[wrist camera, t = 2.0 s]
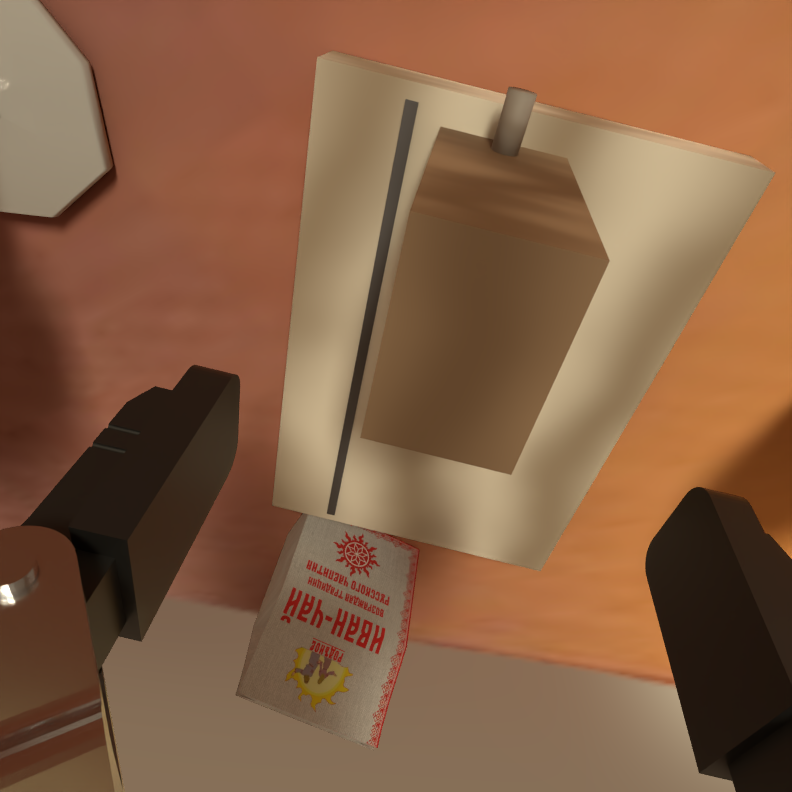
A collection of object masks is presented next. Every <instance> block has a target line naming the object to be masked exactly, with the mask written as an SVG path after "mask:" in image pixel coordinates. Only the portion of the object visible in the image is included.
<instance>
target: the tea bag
mask: <svg viewBox="0 0 792 792" xmlns="http://www.w3.org/2000/svg"><path fill="white" fill-rule="evenodd" d="M418 557H419V549H417V548H415V547H413V546H411V545H409V544H407V543H404V542H402V541H400V540H398V539H396V538H394V537H392V536H390V535H388V534H386V533H382V532H378V531H374V530H370V529H366V528H362V527H358V526H354V525H350V524H346V523H342V522H337V521H333V520H329V519H325V518H321V517H317V516H313V515H309V514H305V513H303V514H302V515H301V516H300V518H299V519H298V521H297V522H296V523H295V525H294V526H293V528H292V529H291V530H290V532H289V533H288V535H287V538H286V541H285V543H284V546H283V549H282V551H281V554H280V557H279V559H278V562H277V565H276V567H275V570H274V573H273V575H272V578H271V581H270V584H269V586H268V589H267V592H266V594H265V597H264V600H263V602H262V605H261V608H260V610H259V613H258V616H257V618H256V621H255V624H254V627H253V631H252V635H251V639H250V644H249V648H248V652H247V656H246V660H245V664H244V668H243V671H242V675H241V679H240V682H239V685H238V689H237V692H236V696H239V697H241V698H244V699H246V700H249V701H251V702H254V703H256V704H259V705H261V706H264V707H266V708H269V709H271V710H274V711H277V712H279V713H282V714H284V715H286V716H289V717H292V718H294V719H297V720H299V721H302V722H304V723H306V724H309V725H311V726H314V727H316V728H319V729H321V730H324V731H327V732H329V733H332V734H334V735H337V736H339V737H341V738H344V739H347V740H349V741H352V742H354V743H357V744H359V745H362V746H364V747H367V748H369V749H372V750H374V747H376V748H378V743H379V738H380V735H381V730H382V726H383V723H384V719H385V716H386V712H387V709H388V705H389V701H390V698H391V695H392V692H393V689H394V685H395V683H396V679H397V676H398V673H399V670H400V666H401V663H402V660H403V657H404V654H405V651H406V647H407V641H408V633H409V625H410V618H411V610H412V602H413V595H414V587H415V579H416V572H417V564H418Z"/></svg>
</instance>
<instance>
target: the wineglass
mask: <svg viewBox="0 0 792 792" xmlns="http://www.w3.org/2000/svg"><path fill="white" fill-rule="evenodd" d="M112 166H113V162H112V158H111V153H110V149H109V145H108V140H107V136H106V131H105V127H104V122H103V118H102V113H101V109H100V104H99V100H98V95H97V91H96V86H95V82H94V77H93V73H92V68H91V64H90V62H89V60H88V59H87V58H86V57H85V55H84V54H83V53H82V52H81V50H80V49H79V48H78V47H77V45H76V44H75V43H74V42H73V40H72V39H71V38H70V37H69V36H68V34H67V33H66V32H65V31H64V29H63V28H62V27H61V26H60V24H59V23H58V22H57V21H56V19H55V18H54V17H53V16H52V14H51V13H50V12H49V11H48V10H47V8H46V7H45V6H44V5H43V3H42V2H41V1H40V0H0V212H9V213H18V214H26V215H35V216H44V217H58V216H59V215H60V214H61V213H63V212H64V211H65V210H66V209H67V208H68V207H69V206H70V205H71V204H73V203H74V202H75V201H76V200H77V199H78V198H79V197H80V196H81V195H83V194H84V193H85V192H86V191H87V190H88V189H89V188H90V187H91V186H92V185H94V184H95V183H96V182H97V181H98V180H99V179H100V178H101V177H102V176H104V175H105V174H106V173H107V172H108V171H109V170H110V169H111V168H112Z"/></svg>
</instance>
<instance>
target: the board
mask: <svg viewBox="0 0 792 792" xmlns="http://www.w3.org/2000/svg"><path fill="white" fill-rule="evenodd" d="M505 98H506V94H502V93H498V92H494V91H490V90H486V89H482V88H478V87H474V86H470V85H466V84H462V83H458V82H455V81H451V80H447V79H443V78H439V77H435V76H431V75H427V74H423V73H419V72H415V71H411V70H407V69H403V68H399V67H395V66H391V65H387V64H383V63H379V62H375V61H371V60H367V59H363V58H359V57H355V56H351V55H347V54H344V53H340V52H336V51H331V52H328V53H326V54H324V55H322V56H319V57H317V65H316V75H315V84H314V94H313V104H312V114H311V124H310V134H309V144H308V154H307V164H306V174H305V184H304V194H303V204H302V213H301V223H300V233H299V243H298V253H297V263H296V273H295V283H294V293H293V303H292V313H291V323H290V333H289V343H288V352H287V362H286V372H285V382H284V392H283V402H282V412H281V422H280V432H279V442H278V452H277V462H276V472H275V482H274V491H273V501H272V506H276V507H280V508H284V509H289V510H293V511H297V512H301V513H305V514H309V515H313V516H317V517H321V518H325V519H329V520H333V521H337V522H342V523H346V524H350V525H354V526H358V527H362V528H366V529H370V530H374V531H378V532H382V533H386V534H391V535H395V536H399V537H403V538H407V539H411V540H415V541H419V542H423V543H427V544H431V545H435V546H440V547H444V548H448V549H452V550H456V551H460V552H464V553H468V554H472V555H476V556H480V557H484V558H488V559H493V560H497V561H501V562H505V563H509V564H513V565H517V566H521V567H525V568H529V569H533V570H537V571H541V569H542V568H543V566H544V564H545V562H546V561H547V559H548V557H549V556H550V554H551V552H552V551H553V549H554V547H555V546H556V544H557V542H558V540H559V539H560V537H561V535H562V534H563V532H564V530H565V529H566V527H567V525H568V523H569V522H570V520H571V518H572V517H573V515H574V513H575V512H576V510H577V508H578V507H579V505H580V503H581V501H582V500H583V498H584V496H585V495H586V493H587V491H588V490H589V488H590V486H591V485H592V483H593V481H594V479H595V478H596V476H597V474H598V473H599V471H600V469H601V468H602V466H603V464H604V462H605V461H606V459H607V457H608V456H609V454H610V452H611V451H612V449H613V447H614V446H615V444H616V442H617V440H618V439H619V437H620V435H621V434H622V432H623V430H624V429H625V427H626V425H627V424H628V422H629V420H630V418H631V417H632V415H633V413H634V412H635V410H636V408H637V407H638V405H639V403H640V402H641V400H642V398H643V396H644V395H645V393H646V391H647V390H648V388H649V386H650V385H651V383H652V381H653V379H654V378H655V376H656V374H657V373H658V371H659V369H660V368H661V366H662V364H663V363H664V361H665V359H666V357H667V356H668V354H669V352H670V351H671V349H672V347H673V346H674V344H675V342H676V341H677V339H678V337H679V335H680V334H681V332H682V330H683V329H684V327H685V325H686V324H687V322H688V320H689V318H690V317H691V315H692V313H693V312H694V310H695V308H696V307H697V305H698V303H699V302H700V300H701V298H702V296H703V295H704V293H705V291H706V290H707V288H708V286H709V285H710V283H711V281H712V280H713V278H714V276H715V274H716V273H717V271H718V269H719V268H720V266H721V264H722V263H723V261H724V259H725V257H726V256H727V254H728V252H729V251H730V249H731V247H732V246H733V244H734V242H735V241H736V239H737V237H738V235H739V234H740V232H741V230H742V229H743V227H744V225H745V224H746V222H747V220H748V219H749V217H750V215H751V213H752V212H753V210H754V208H755V207H756V205H757V203H758V202H759V200H760V198H761V196H762V195H763V193H764V191H765V190H766V188H767V186H768V185H769V183H770V181H771V180H772V178H773V176H774V174H775V172H773V171H772V170H770V169H769V168H768V167H766V166H765V165H763V164H762V163H760V162H759V161H757V160H756V159H754V158H753V157H751V156H748V155H744V154H740V153H736V152H732V151H728V150H724V149H720V148H716V147H712V146H708V145H704V144H700V143H696V142H692V141H688V140H684V139H681V138H677V137H673V136H669V135H665V134H661V133H657V132H653V131H649V130H645V129H641V128H637V127H633V126H629V125H625V124H621V123H617V122H613V121H609V120H605V119H601V118H597V117H593V116H589V115H585V114H581V113H577V112H573V111H570V110H566V109H562V108H558V107H554V106H550V105H546V104H542V103H538V102H535V103H534V106H533V109H532V112H531V115H530V119H529V122H528V125H527V128H526V131H525V134H524V138H523V141H522V144H521V147H524V148H528V149H532V150H536V151H540V152H544V153H548V154H552V155H556V156H560V157H564V158H567V159H568V162H569V164H570V166H571V169H572V171H573V174H574V176H575V178H576V181H577V183H578V186H579V188H580V190H581V193H582V195H583V198H584V200H585V202H586V205H587V207H588V210H589V212H590V214H591V217H592V219H593V222H594V224H595V226H596V229H597V231H598V234H599V236H600V238H601V241H602V243H603V246H604V248H605V250H606V253H607V255H608V258H609V260H610V261H609V264H608V266H607V268H606V270H605V272H604V275H603V277H602V279H601V281H600V283H599V285H598V288H597V290H596V292H595V294H594V296H593V298H592V301H591V303H590V305H589V307H588V309H587V312H586V314H585V316H584V318H583V320H582V322H581V325H580V327H579V329H578V331H577V333H576V335H575V338H574V340H573V342H572V344H571V346H570V348H569V351H568V353H567V355H566V357H565V359H564V362H563V364H562V366H561V368H560V370H559V372H558V375H557V377H556V379H555V381H554V383H553V385H552V388H551V390H550V392H549V394H548V396H547V399H546V401H545V403H544V405H543V407H542V409H541V412H540V414H539V416H538V418H537V420H536V422H535V425H534V427H533V429H532V431H531V433H530V435H529V438H528V440H527V442H526V444H525V446H524V449H523V451H522V453H521V455H520V457H519V459H518V462H517V464H516V466H515V468H514V470H513V472H512V475H509V474H505V473H501V472H497V471H493V470H489V469H485V468H481V467H477V466H473V465H469V464H465V463H461V462H456V461H452V460H448V459H444V458H440V457H436V456H432V455H428V454H424V453H420V452H416V451H412V450H408V449H404V448H400V447H396V446H392V445H387V444H383V443H379V442H375V441H371V440H367V439H363V438H360V437H361V432H362V428H363V423H364V418H365V414H366V409H367V405H368V400H369V395H370V391H371V386H372V382H373V377H374V373H375V368H376V363H377V359H378V354H379V350H380V345H381V340H382V336H383V331H384V327H385V322H386V317H387V313H388V308H389V304H390V299H391V294H392V290H393V285H394V281H395V276H396V272H397V267H398V262H399V258H400V253H401V249H402V244H403V239H404V235H405V230H406V226H407V221H408V216H409V212H410V209H411V206H412V203H413V200H414V198H415V195H416V192H417V189H418V187H419V184H420V181H421V179H422V176H423V173H424V170H425V168H426V165H427V162H428V159H429V157H430V154H431V151H432V148H433V146H434V143H435V140H436V137H437V135H438V132H439V129H440V127H445V128H449V129H453V130H457V131H461V132H465V133H469V134H473V135H477V136H481V137H485V138H489V139H493V140H494V136H495V133H496V130H497V126H498V123H499V119H500V116H501V112H502V109H503V105H504V102H505Z"/></svg>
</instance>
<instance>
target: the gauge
mask: <svg viewBox="0 0 792 792" xmlns="http://www.w3.org/2000/svg"><path fill="white" fill-rule="evenodd" d="M536 96H537V94H536V93H534V92H531V91H528V90H525V89H521V88H516V87H509V88H508V91H507V95H506V98H505V102H504V105H503V109H502V112H501V116H500V119H499V123H498V126H497V130H496V133H495V136H494V140H493V139H489V138H485V137H481V136H477V135H473V134H469V133H465V132H461V131H457V130H453V129H449V128H445V127H440V129H439V132H438V135H437V137H436V140H435V143H434V146H433V148H432V151H431V154H430V157H429V159H428V162H427V165H426V168H425V170H424V173H423V176H422V179H421V181H420V184H419V187H418V189H417V192H416V195H415V198H414V200H413V203H412V206H411V209H410V212H409V216H408V221H407V226H406V230H405V235H404V239H403V244H402V249H401V253H400V258H399V262H398V267H397V272H396V276H395V281H394V285H393V290H392V294H391V299H390V304H389V308H388V313H387V317H386V322H385V327H384V331H383V336H382V340H381V345H380V350H379V354H378V359H377V363H376V368H375V373H374V377H373V382H372V386H371V391H370V395H369V400H368V405H367V409H366V414H365V418H364V423H363V428H362V432H361V437H360V438H363V439H367V440H371V441H375V442H379V443H383V444H387V445H392V446H396V447H400V448H404V449H408V450H412V451H416V452H420V453H424V454H428V455H432V456H436V457H440V458H444V459H448V460H452V461H456V462H461V463H465V464H469V465H473V466H477V467H481V468H485V469H489V470H493V471H497V472H501V473H505V474H509V475H512V472H513V470H514V468H515V466H516V464H517V462H518V459H519V457H520V455H521V453H522V451H523V449H524V446H525V444H526V442H527V440H528V438H529V435H530V433H531V431H532V429H533V427H534V425H535V422H536V420H537V418H538V416H539V414H540V412H541V409H542V407H543V405H544V403H545V401H546V399H547V396H548V394H549V392H550V390H551V388H552V385H553V383H554V381H555V379H556V377H557V375H558V372H559V370H560V368H561V366H562V364H563V362H564V359H565V357H566V355H567V353H568V351H569V348H570V346H571V344H572V342H573V340H574V338H575V335H576V333H577V331H578V329H579V327H580V325H581V322H582V320H583V318H584V316H585V314H586V312H587V309H588V307H589V305H590V303H591V301H592V298H593V296H594V294H595V292H596V290H597V288H598V285H599V283H600V281H601V279H602V277H603V275H604V272H605V270H606V268H607V266H608V264H609V261H610V260H609V258H608V255H607V253H606V250H605V248H604V246H603V243H602V241H601V238H600V236H599V234H598V231H597V229H596V226H595V224H594V222H593V219H592V217H591V214H590V212H589V210H588V207H587V205H586V202H585V200H584V198H583V195H582V193H581V190H580V188H579V186H578V183H577V181H576V178H575V176H574V174H573V171H572V169H571V166H570V164H569V162H568V159H567V158H564V157H560V156H556V155H552V154H548V153H544V152H540V151H536V150H532V149H528V148H524V147H521V144H522V141H523V138H524V134H525V131H526V128H527V125H528V122H529V119H530V115H531V112H532V109H533V106H534V103H535V100H536Z"/></svg>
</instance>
